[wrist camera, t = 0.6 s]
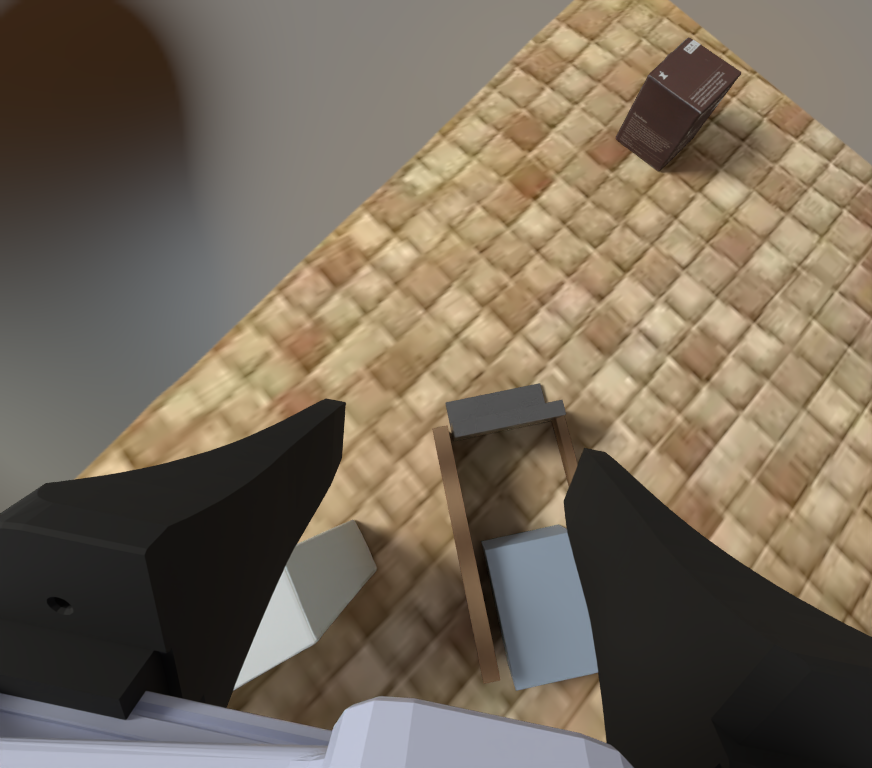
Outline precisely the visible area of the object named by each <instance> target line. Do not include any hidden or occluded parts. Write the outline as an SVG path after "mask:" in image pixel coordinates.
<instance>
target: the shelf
mask: <svg viewBox="0 0 872 768" xmlns="http://www.w3.org/2000/svg"><path fill="white" fill-rule="evenodd" d="M552 424H553V427H554V431H555V435H556V439H557V443H558V447H559V450H560V454H561V458H562V462H563V466H564V470H565V473H566V477H567V481H568V485H569V486H570V483H571V481H572V478H573V476H574V473H575V471H576V468H577V465H578V464H577V460H576V457H575V453H574V449H573V446H572V442H571V438H570V434H569V431H568V427H567V423H566V419H565V416H561V417H559V418H556V419H554V420H552ZM432 430H433V435H434V440H435V445H436V450H437V455H438V459H439V464H440V469H441V474H442V479H443V484H444V489H445V494H446V499H447V504H448V509H449V514H450V519H451V524H452V529H453V534H454V539H455V544H456V549H457V554H458V559H459V564H460V569H461V574H462V579H463V584H464V589H465V594H466V599H467V604H468V609H469V614H470V619H471V623H472V628H473V633H474V638H475V643H476V648H477V653H478V658H479V663H480V668H481V673H482V678H483V683H484V684H485V683H490V682H494V681H499V680H500V675H499V670H498V665H497V661H496V656H495V651H494V646H493V642H492V637H491V632H490V627H489V622H488V618H487V613H486V608H485V603H484V598H483V594H482V589H481V584H480V579H479V575H478V570H477V565H476V560H475V555H474V551H473V546H472V541H471V536H470V531H469V527H468V522H467V517H466V512H465V508H464V503H463V498H462V493H461V488H460V484H459V479H458V474H457V469H456V464H455V460H454V455H453V450H452V445H451V441H450V436H449V431H448V426H442V427H437V428H433V429H432Z"/></svg>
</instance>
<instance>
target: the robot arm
mask: <svg viewBox="0 0 872 768" xmlns="http://www.w3.org/2000/svg"><path fill="white" fill-rule="evenodd" d="M345 406H346V402H342V401H336V400H331V399H324V400H322V401H319V402H317V403H316V404H314V405H312V406H310V407H308V408H306V409H304V410H302V411H300V412H299V413H297V414H295V415H293V416H291V417H289V418H287V419H285V420H283V421H281V422H279V423H277V424H275V425H273V426H270V427H268V428H266V429H264V430H262V431H259V432H257V433H255V434H253V435H251V436H248V437H246V438H244V439H241V440H239V441H236V442H233V443H231V444H228V445H225V446H222V447H219V448H217V449H214V450H211V451H208V452H204V453H201V454H197V455H194V456H190V457H187V458H183V459H179V460H176V461H172V462H169V463H164V464H160V465H156V466H151V467H147V468H142V469H137V470H132V471H127V472H121V473H116V474H110V475H104V476H97V477H90V478H82V479H75V480H68V481H61V482H52V483H46V484H44V485H42V486H41V487H40V488H38V489H36V490H35V491H33V492H32V493H30V494H29V495H27V496H26V497H24V498H23V499H21V500H20V501H18V502H17V503H15V504H14V505H12V506H11V507H9V508H8V509H6V510H5V511H3V512H2V513H0V768H872V637H870V636H868V635H866V634H864V633H862V632H860V631H858V630H856V629H854V628H852V627H850V626H848V625H846V624H844V623H842V622H841V621H839V620H837V619H835V618H833V617H831V616H829V615H828V614H826V613H824V612H822V611H820V610H819V609H817V608H815V607H813V606H811V605H810V604H808V603H806V602H804V601H802V600H801V599H799V598H797V597H795V596H794V595H792V594H790V593H789V592H787V591H785V590H783V589H782V588H780V587H778V586H777V585H775V584H773V583H772V582H770V581H769V580H767V579H766V578H764V577H762V576H761V575H759V574H758V573H756V572H754V571H753V570H751V569H750V568H748V567H747V566H745V565H743V564H742V563H740V562H739V561H738V560H736V559H735V558H733V557H732V556H730V555H729V554H727V553H726V552H724V551H723V550H722V549H720V548H719V547H718V546H716V545H715V544H713V543H712V542H711V541H709V540H708V539H706V538H705V537H704V536H702V535H701V534H700V533H698V532H697V531H696V530H695V529H693V528H692V527H691V526H689V525H688V524H687V523H686V522H685V521H683V520H682V519H681V518H680V517H679V516H677V515H676V514H675V513H674V512H672V511H671V510H670V509H669V508H668V507H667V506H665V505H664V504H663V503H662V502H661V501H660V500H659V499H657V498H656V497H655V496H654V495H653V494H652V493H651V492H650V491H648V490H647V489H646V488H645V487H644V486H643V485H642V484H641V483H640V482H639V481H638V480H636V479H635V478H634V477H633V476H632V475H631V474H630V473H629V472H628V471H627V470H626V469H624V468H623V467H622V466H621V465H620V464H619V463H618V462H617V461H615V460H614V459H613V458H612V457H611V456H610V455H608V454H607V453H606V452H602V451H597V450H592V449H587V448H584V450H583V453H582V455H581V458H580V460H579V463H578V465H577V468H576V471H575V473H574V476H573V478H572V481H571V483H570V486H569V489H568V491H567V494H566V496H565V499H564V510H565V519H566V526H567V533H568V537H569V541H570V545H571V549H572V553H573V557H574V560H575V564H576V568H577V571H578V575H579V579H580V582H581V586H582V590H583V594H584V597H585V601H586V605H587V609H588V613H589V618H590V623H591V629H592V635H593V641H594V647H595V653H596V660H597V667H598V674H599V682H600V689H601V696H602V704H603V713H604V722H605V732H606V741H607V743H604V742H602V741H599V740H597V739H594V738H591V737H589V736H586V735H583V734H581V733H577V732H572V731H567V730H563V729H558V728H553V727H548V726H544V725H539V724H534V723H529V722H525V721H520V720H515V719H510V718H506V717H501V716H496V715H491V714H487V713H482V712H477V711H472V710H468V709H463V708H458V707H453V706H449V705H444V704H439V703H434V702H430V701H425V700H420V699H415V698H402V697H385V696H378V697H375V698H372V699H369V700H366V701H363V702H360V703H356V704H353V705H352V706H350V707H349V708H347V709H345V711H344V712H343V714H342V715H341V717H340V718H339V720H338V721H337V723H336V724H335V726H334V727H333V731H331V730H327V729H322V728H317V727H313V726H308V725H303V724H299V723H294V722H289V721H285V720H280V719H275V718H271V717H266V716H261V715H256V714H252V713H247V712H242V711H238V710H233V709H228V708H226V707H227V705H228V702H229V700H230V697H231V695H232V692H233V689H234V687H235V684H236V682H237V679H238V676H239V674H240V672H241V669H242V667H243V664H244V662H245V659H246V657H247V654H248V652H249V649H250V647H251V645H252V642H253V640H254V637H255V635H256V632H257V630H258V628H259V625H260V623H261V621H262V618H263V616H264V614H265V611H266V609H267V607H268V604H269V602H270V600H271V597H272V595H273V593H274V591H275V588H276V586H277V584H278V582H279V579H280V577H281V575H282V573H283V571H284V568H285V566H286V564H287V562H288V560H289V558H290V556H291V554H292V552H293V550H294V548H295V546H296V545H297V543H298V541H299V539H300V538H301V536H302V534H303V533H304V531H305V529H306V527H307V526H308V524H309V522H310V521H311V519H312V517H313V515H314V514H315V512H316V510H317V509H318V507H319V505H320V503H321V502H322V500H323V498H324V496H325V495H326V493H327V491H328V489H329V487H330V486H331V483H332V481H333V479H334V476H335V474H336V472H337V469H338V467H339V464H340V461H341V459H342V450H343V435H344V421H345Z"/></svg>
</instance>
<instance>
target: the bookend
mask: <svg viewBox="0 0 872 768" xmlns="http://www.w3.org/2000/svg"><path fill="white" fill-rule="evenodd" d="M446 408H447V413H448V418H449V422H450V427H451V432H452V437H453V441H457V440H462V439H466V438H471V437H476V436H481V435H486V434H491V433H495V432H500V431H505V430H510V429H515V428H520V427H524V426H529V425H534V424H539V423H544V422H549V421H551V420H554V419H556V418H559V417H561V416H564V415H566V412H565V408H564V404H563V401H562V400H559V401H554V402H549V403H545V401H544V397H543V393H542V389H541V386H540V383H539V384H534V385H529V386H524V387H520V388H515V389H510V390H505V391H500V392H495V393H490V394H485V395H481V396H476V397H471V398H466V399H461V400H456V401H451V402H446Z"/></svg>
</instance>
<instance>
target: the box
mask: <svg viewBox="0 0 872 768" xmlns="http://www.w3.org/2000/svg"><path fill="white" fill-rule="evenodd" d="M740 75H741V72H740V71H739V70H737V69H736V68H734V67H733V66H731V65H730V64H728V63H727V62H726V61H724V60H722V59H721V58H719V57H718V56H716V55H715V54H713V53H712V52H711V51H709V50H708V49H706V48H705V47H703V46H702V45H701V44H699V43H698V42H696V41H694V40H692V39H691V38H687V39H686V40H685V41H684V42H683V43H681V44H680V45H679V46H678V47H677V48H676V49H675V50H674V51H673V52H671V53H670V54H669V55H668V56H667V57H666V58H665V60H664V61H663V62H661V63H660V64H659V65H658V66H657V67H656V68H655V69H654V70H653V71H652V72H651V73H650V74H649V75H648V77H647V79H646V81H645V83H644V84H643V86H642V88H641V90H640V92H639V94H638V95H637V97H636V99H635V101H634V103H633V105H632V107H631V109H630V111H629V113H628V115H627V117H626V118H625V120H624V122H623V124H622V126H621V128H620V130H619V132H618V134H617V136H616V140H618V141H619V142H620V143H621V144H623V145H624V146H625V147H627V148H628V149H629V150H631V151H632V152H633V153H635V154H636V155H638V156H639V157H640V158H642V159H643V160H644V161H645V162H647V163H648V164H649V165H650V166H652V167H653V168H655V169H656V170H658V171H659V170H661V169H662V168H663V167H664V166H665V165H666V164H667V163H668V162H669V161H671V160H672V159H673V158H674V157H675V156H676V155H677V154H678V153H679V152H680V151H681V150H682V149H683V148H684V147H685V146H686V144H687V143H688V142H690V141H691V139H693V138H694V136H695V135H696V133H697V132H698V131H699V129H700V128H701V127H702V125H703V124H704V123H705V121H706V120H707V119H708V117H709V116H710V115H711V113H712V112H713V111H714V109H715V108H716V107H717V105H718V104H719V103H720V101H721V100H722V98H723V97H724V96H725V94H726V93H727V92H728V90H729V89H730V88H731V86H732V85H733V84H734V82H735V81H736V80H737V78H738V77H739V76H740Z"/></svg>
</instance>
